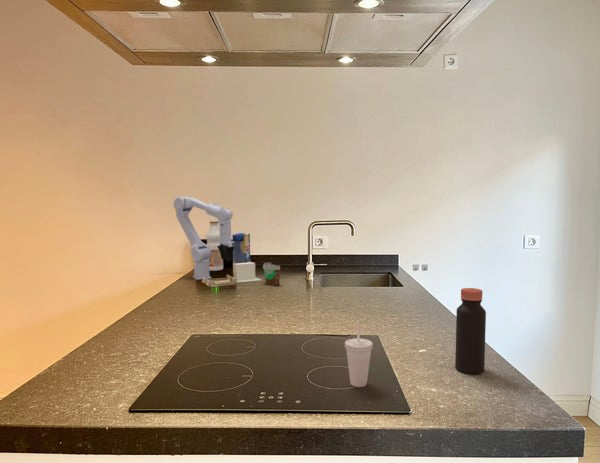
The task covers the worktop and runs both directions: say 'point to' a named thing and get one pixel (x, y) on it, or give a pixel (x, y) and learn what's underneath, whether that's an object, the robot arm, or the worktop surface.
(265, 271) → the food container
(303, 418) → the worktop surface
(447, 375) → the worktop surface
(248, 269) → the beige rectangular block
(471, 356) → the bottle
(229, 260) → the robot arm
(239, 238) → the beverage box
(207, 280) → the rack
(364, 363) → the smoothie
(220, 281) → the offcut upper
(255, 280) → the board
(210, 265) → the fruit juice
